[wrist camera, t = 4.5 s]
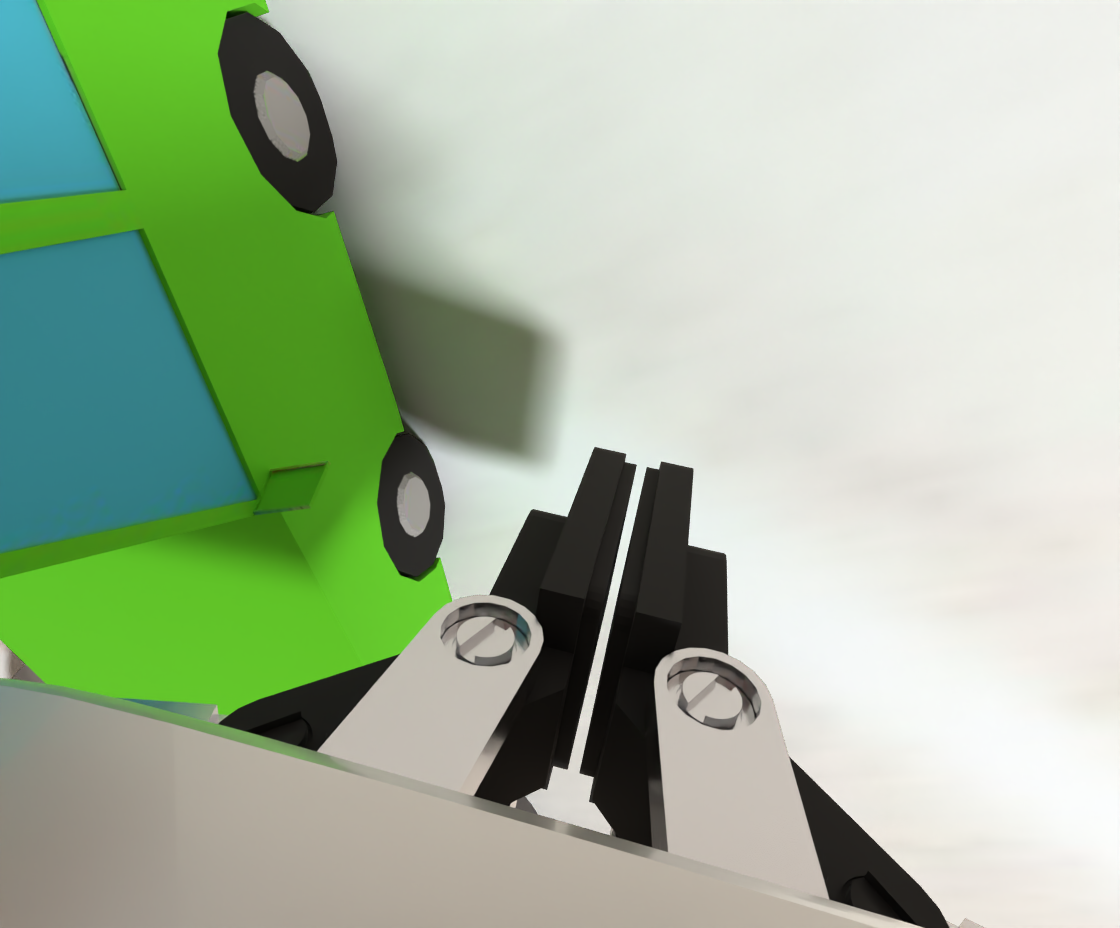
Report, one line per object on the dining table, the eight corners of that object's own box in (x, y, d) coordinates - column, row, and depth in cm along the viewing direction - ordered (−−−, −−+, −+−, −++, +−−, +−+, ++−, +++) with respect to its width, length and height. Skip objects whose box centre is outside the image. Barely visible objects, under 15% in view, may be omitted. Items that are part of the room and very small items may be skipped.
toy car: (188, 603, 19) (-246, 995, 11) (-83, 90, 14) (-1392, 34, 5) (521, 587, 17) (303, 1100, 8) (341, -61, 11) (-954, -696, 3)
